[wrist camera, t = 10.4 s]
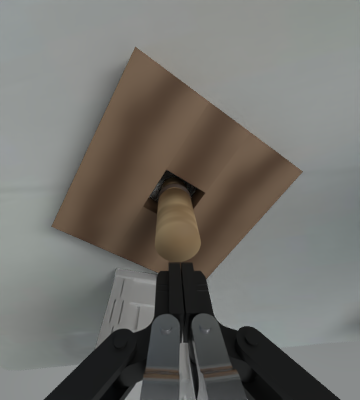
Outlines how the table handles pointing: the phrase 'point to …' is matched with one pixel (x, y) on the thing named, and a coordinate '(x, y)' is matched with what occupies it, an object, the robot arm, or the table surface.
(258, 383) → the robot arm
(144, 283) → the castle model
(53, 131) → the table surface
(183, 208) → the peg
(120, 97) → the board
